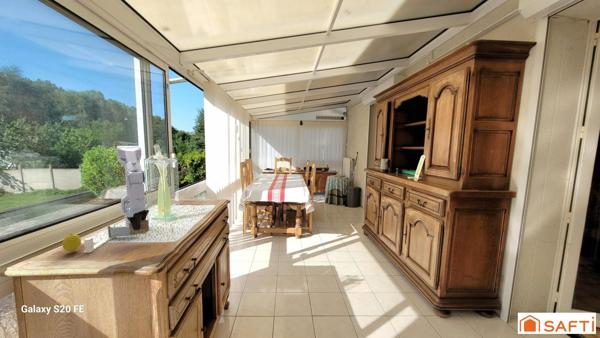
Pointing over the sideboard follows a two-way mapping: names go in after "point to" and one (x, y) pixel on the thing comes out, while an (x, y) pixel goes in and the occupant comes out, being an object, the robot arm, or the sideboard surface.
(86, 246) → the white bracket
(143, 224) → the brown block
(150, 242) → the sideboard surface
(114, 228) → the door
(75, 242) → the lemon
